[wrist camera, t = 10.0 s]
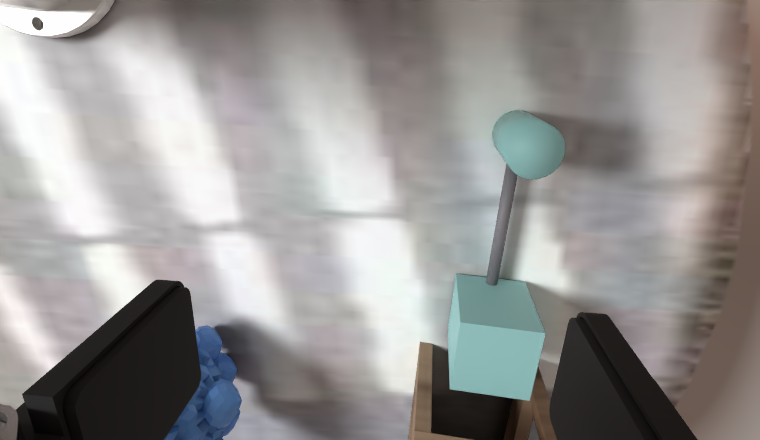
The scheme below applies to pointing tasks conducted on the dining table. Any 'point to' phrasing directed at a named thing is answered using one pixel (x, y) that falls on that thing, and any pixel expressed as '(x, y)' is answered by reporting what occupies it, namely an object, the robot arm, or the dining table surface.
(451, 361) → the teal blocks with rod
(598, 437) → the robot arm
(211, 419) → the grapes
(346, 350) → the dining table surface
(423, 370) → the open wooden box
